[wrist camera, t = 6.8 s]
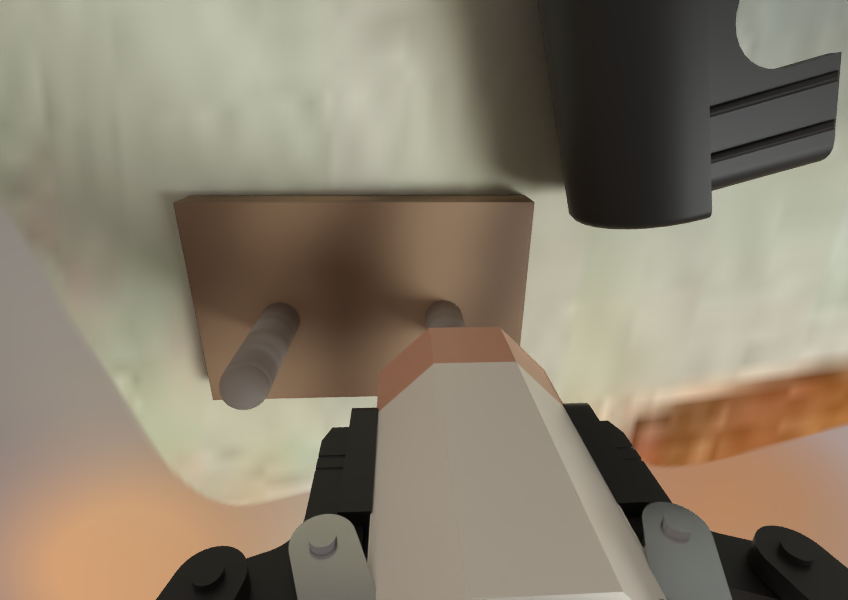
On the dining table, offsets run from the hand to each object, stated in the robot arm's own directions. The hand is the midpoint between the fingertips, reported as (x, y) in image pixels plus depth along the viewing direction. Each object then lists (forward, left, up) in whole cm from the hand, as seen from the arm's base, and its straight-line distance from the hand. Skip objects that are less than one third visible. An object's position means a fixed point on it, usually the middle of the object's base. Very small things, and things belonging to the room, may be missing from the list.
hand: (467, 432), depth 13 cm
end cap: (-7, -10, -10) cm, 16 cm away
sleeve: (0, 0, -2) cm, 2 cm away
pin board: (+3, 0, -9) cm, 10 cm away
